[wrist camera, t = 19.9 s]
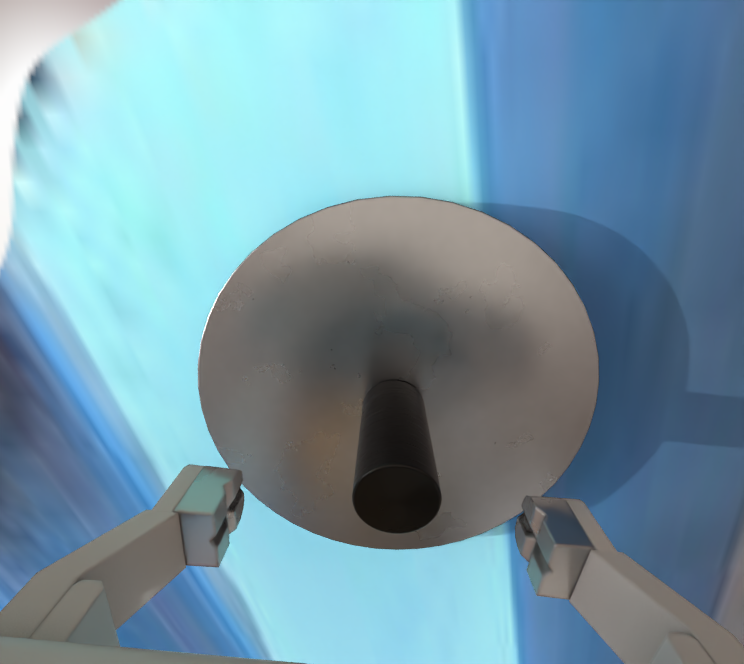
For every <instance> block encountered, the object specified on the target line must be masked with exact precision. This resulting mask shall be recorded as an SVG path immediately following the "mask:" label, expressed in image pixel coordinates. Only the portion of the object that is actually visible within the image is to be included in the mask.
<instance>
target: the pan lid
mask: <svg viewBox="0 0 744 664" xmlns="http://www.w3.org/2000/svg"><path fill="white" fill-rule="evenodd" d="M598 385H599V359H598V351H597V346H596V341H595V335H594V331H593V328H592V325H591V322H590V320H589V317H588V314H587V311H586V308H585V306H584V304H583V302H582V301H581V299H580V297H579V295H578V293H577V292H576V290H575V288H574V286H573V284H572V283H571V282H570V280H569V279H568V278H567V276H566V275H565V274H564V272H563V271H562V270H561V269H560V267H559V266H558V265H557V263H556V262H555V261H554V260H553V259H552V258H551V257H550V256H549V255H547V254H546V253H545V252H544V251H543V250H542V249H541V248H540V247H539V246H538V245H537V244H536V243H535V242H533V241H532V240H531V239H529V238H528V237H526V236H525V235H523V234H522V233H520V232H519V231H517V230H516V229H515V228H513V227H512V226H510V225H508V224H506V223H504V222H502V221H500V220H498V219H496V218H494V217H492V216H490V215H488V214H486V213H484V212H482V211H479V210H475V209H472V208H469V207H466V206H463V205H460V204H457V203H454V202H449V201H443V200H437V199H431V198H426V197H413V196H383V197H374V198H366V199H357V200H353V201H349V202H346V203H342V204H338V205H334V206H330V207H327V208H324V209H322V210H319V211H317V212H315V213H312V214H310V215H307V216H305V217H303V218H300V219H298V220H296V221H295V222H293V223H291V224H290V225H288V226H286V227H285V228H283V229H281V230H280V231H278V232H276V233H275V234H273V235H272V236H271V237H269V238H268V239H267V240H266V241H265V242H263V243H262V244H261V245H260V246H258V247H257V248H256V249H255V250H254V251H252V252H251V253H250V254H249V255H248V257H247V258H246V259H245V260H244V261H243V262H242V263H241V264H240V265H239V266H238V268H237V269H236V270H235V271H234V272H233V273H232V275H231V276H230V278H229V279H228V281H227V282H226V284H225V285H224V287H223V288H222V290H221V291H220V293H219V294H218V296H217V299H216V301H215V303H214V305H213V307H212V309H211V311H210V314H209V316H208V318H207V322H206V325H205V329H204V332H203V335H202V339H201V344H200V352H199V359H198V389H199V395H200V401H201V407H202V411H203V415H204V418H205V421H206V424H207V427H208V431H209V433H210V435H211V437H212V439H213V441H214V443H215V446H216V448H217V450H218V451H219V453H220V455H221V456H222V458H223V459H224V461H225V462H226V464H227V466H228V467H229V469H236V470H241V471H242V474H243V482H242V484H243V485H244V486H245V487H246V488H247V489H248V490H249V491H250V492H251V493H252V494H253V495H254V496H255V497H256V498H257V499H258V500H259V501H261V502H262V503H263V504H265V505H266V506H267V507H269V508H270V509H271V510H272V511H274V512H275V513H277V514H278V515H280V516H282V517H283V518H285V519H287V520H288V521H290V522H292V523H293V524H295V525H297V526H299V527H302V528H304V529H306V530H308V531H310V532H312V533H315V534H317V535H320V536H323V537H326V538H329V539H331V540H335V541H339V542H343V543H347V544H351V545H356V546H362V547H369V548H376V549H395V550H399V549H420V548H427V547H434V546H441V545H445V544H449V543H453V542H458V541H462V540H465V539H467V538H470V537H473V536H476V535H479V534H482V533H484V532H486V531H488V530H490V529H493V528H495V527H497V526H499V525H501V524H503V523H505V522H506V521H508V520H510V519H511V518H513V517H515V516H516V515H518V514H520V513H521V512H523V509H522V506H521V505H522V502H523V499H524V498H525V497H526V495H527V496H540V497H541V496H542V495H543V494H545V493H546V492H547V491H548V490H549V489H550V488H551V487H552V486H553V485H554V484H555V483H556V481H557V480H558V479H559V478H560V476H561V475H562V474H563V473H564V472H565V470H566V469H567V468H568V467H569V465H570V463H571V462H572V460H573V459H574V457H575V455H576V454H577V452H578V450H579V449H580V447H581V445H582V443H583V440H584V438H585V436H586V434H587V431H588V429H589V427H590V424H591V420H592V417H593V413H594V410H595V406H596V401H597V393H598Z"/></svg>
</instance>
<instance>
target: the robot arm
mask: <svg viewBox="0 0 744 664" xmlns="http://www.w3.org/2000/svg"><path fill="white" fill-rule="evenodd" d="M242 482H243V474H242V471H241V470H236V469H228V468H219V467H210V466H198V465H190V464H189V465H187V466H185V467H184V468H183V469H182V470H181V472H180V473H179V474H178V476H177V477H176V478H175V480H174V481H173V482H172V484H171V485H170V486H169V488H168V489H167V490H166V492H165V493H164V494H163V496H162V497H161V498H160V500H159V501H158V502H157V504H156V505H155V506H154V508H153V509H152V510H145V511H143V512H141V513H140V514H138V515H136V516H134V517H133V518H131V519H129V520H128V521H126V522H124V523H122V524H121V525H119V526H117V527H115V528H114V529H112V530H110V531H108V532H107V533H105V534H103V535H102V536H100V537H98V538H96V539H95V540H93V541H91V542H89V543H88V544H86V545H84V546H82V547H81V548H79V549H77V550H76V551H74V552H72V553H70V554H69V555H67V556H65V557H63V558H62V559H60V560H58V561H56V562H55V563H53V564H51V565H50V566H48V567H46V568H44V569H43V570H41V571H39V572H37V573H36V574H35V575H34V576H33V577H32V578H31V580H30V581H29V582H28V583H27V584H26V585H25V586H24V587H23V588H22V589H21V590H20V591H19V592H18V593H17V594H16V596H15V597H14V598H13V599H12V600H11V601H10V602H9V603H8V604H7V605H6V606H5V607H4V608H3V609H2V611H1V612H0V664H305V663H294V662H283V661H272V660H261V659H249V658H238V657H227V656H216V655H205V654H193V653H182V652H171V651H160V650H149V649H137V648H126V647H120V644H119V640H118V636H117V633H116V630H117V629H118V628H119V627H120V626H121V625H122V624H123V623H124V622H126V621H127V620H128V619H129V618H130V617H131V616H132V615H133V614H134V613H136V612H137V611H138V610H139V609H140V608H141V607H142V606H143V605H145V604H146V603H147V602H148V601H149V600H150V599H151V598H152V597H153V596H155V595H156V594H157V593H158V592H159V591H160V590H161V589H162V588H163V587H165V586H166V585H167V584H168V583H169V582H170V581H171V580H172V579H174V578H175V577H176V576H177V575H178V574H179V573H180V572H181V571H182V570H184V569H185V568H186V565H190V566H207V567H219V566H220V564H221V561H222V559H223V557H224V555H225V553H226V550H227V548H228V546H229V544H230V542H229V534H230V533H231V532H233V531H234V530H235V529H236V528H237V526H238V524H239V521H240V519H241V515H242V511H243V506H244V493H243V491H242V490H241V489H240V486H241V484H242ZM521 506H522V509H523V511H524V513H523V514H521V515H520V516H519V517H518V518H517V521H516V525H515V538H516V542H517V546H518V549H519V552H520V554H521V555H522V556H523V557H524V558H525V559H526V560H527V561H528V562H529V565H528V568H527V572H528V575H529V578H530V580H531V583H532V585H533V588H534V590H535V593H536V595H537V596H544V597H552V598H560V599H569V600H570V601H569V602H570V603H571V604H572V605H573V606H574V607H575V608H576V610H577V611H578V612H579V613H580V614H581V615H582V616H583V617H584V619H585V620H586V621H587V622H588V623H589V624H590V625H591V626H592V628H593V629H594V630H595V631H596V632H597V633H598V634H599V635H600V636H601V638H602V639H603V640H604V641H605V642H606V643H607V644H608V645H609V647H610V648H611V649H612V650H613V651H614V652H615V653H616V654H617V656H618V657H619V658H620V659H621V660H622V661H623V662H624V663H625V664H744V647H743V646H742V644H741V643H740V642H739V641H738V639H737V638H736V637H735V636H734V635H733V634H731V633H730V632H729V631H727V630H726V629H725V628H723V627H722V626H721V625H719V624H718V623H717V622H715V621H714V620H713V619H711V618H710V617H709V616H707V615H706V614H705V613H703V612H702V611H701V610H699V609H698V608H697V607H695V606H694V605H693V604H691V603H690V602H689V601H687V600H686V599H684V598H683V597H682V596H680V595H679V594H678V593H676V592H675V591H674V590H672V589H671V588H670V587H668V586H667V585H666V584H664V583H663V582H662V581H660V580H659V579H658V578H656V577H655V576H654V575H652V574H651V573H650V572H648V571H647V570H646V569H644V568H643V567H642V566H640V565H639V564H638V563H636V562H635V561H634V560H632V559H631V558H630V557H628V556H627V555H626V554H624V553H622V552H617V551H616V549H615V548H614V546H613V545H612V543H611V542H610V540H609V539H608V537H607V536H606V534H605V533H604V531H603V530H602V528H601V527H600V525H599V524H598V523H597V521H596V520H595V518H594V517H593V515H592V514H591V512H590V511H589V509H588V508H587V506H586V505H585V503H584V502H582V501H581V500H580V499H566V498H552V497H540V496H527V495H526V497H525V498H524V499H523V502H522V505H521Z"/></svg>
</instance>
